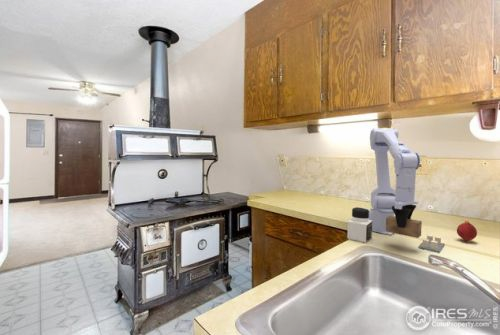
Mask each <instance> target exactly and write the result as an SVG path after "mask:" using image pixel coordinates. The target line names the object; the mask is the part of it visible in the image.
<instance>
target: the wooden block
mask: <svg viewBox="0 0 500 335" xmlns="http://www.w3.org/2000/svg"><path fill="white" fill-rule="evenodd" d="M422 223H423V222H422V220H417V219H412V218H411V219H407V222H406V226H405V228H401V227H398V226H397V222H396V217H395V215H394V216H388V217H386V231H387V232H391V233H393V234H397V235H402V236H405V237H412V238H415V239H419V238H420V237H421V236H422V225H423V224H422Z"/></svg>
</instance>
